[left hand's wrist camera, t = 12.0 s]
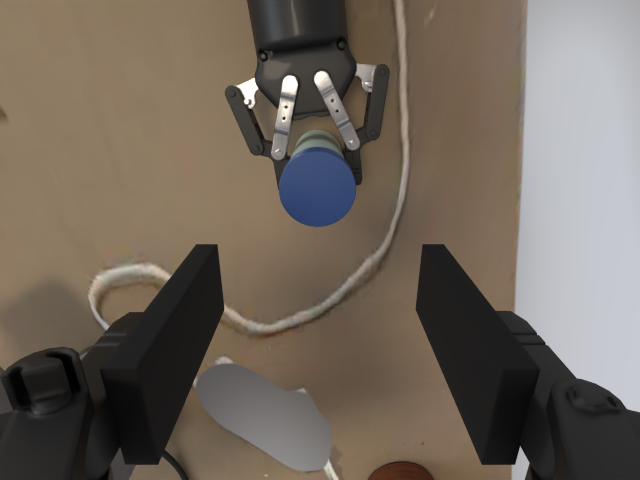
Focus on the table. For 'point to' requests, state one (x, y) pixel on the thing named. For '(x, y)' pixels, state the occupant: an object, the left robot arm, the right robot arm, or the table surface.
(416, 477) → the music box
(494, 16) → the table surface
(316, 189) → the lid
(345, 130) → the right robot arm
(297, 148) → the green bottle
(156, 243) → the table surface
